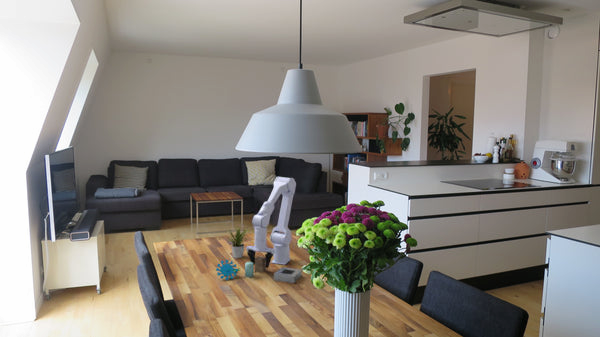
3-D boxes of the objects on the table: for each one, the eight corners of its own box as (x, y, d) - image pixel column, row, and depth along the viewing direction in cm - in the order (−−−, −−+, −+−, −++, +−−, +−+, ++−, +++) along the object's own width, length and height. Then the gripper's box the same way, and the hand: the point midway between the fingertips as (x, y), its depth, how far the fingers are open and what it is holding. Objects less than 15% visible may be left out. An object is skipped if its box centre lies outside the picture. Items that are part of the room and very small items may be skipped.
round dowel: (247, 273, 209) (247, 261, 208) (255, 274, 207) (255, 262, 206) (243, 276, 205) (243, 264, 204) (251, 277, 203) (251, 265, 203)
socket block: (282, 273, 210) (282, 267, 210) (301, 275, 207) (301, 269, 206) (273, 280, 201) (273, 273, 200) (294, 283, 197) (294, 276, 197)
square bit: (258, 269, 215) (258, 256, 215) (265, 270, 214) (265, 257, 213) (254, 271, 212) (254, 258, 211) (262, 272, 210) (262, 259, 210)
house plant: (257, 258, 231) (257, 228, 229) (234, 263, 223) (233, 231, 222) (245, 251, 243) (245, 222, 241) (222, 255, 235) (222, 225, 233)
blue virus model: (216, 278, 197) (216, 258, 204) (214, 283, 202) (214, 264, 208) (240, 279, 201) (240, 259, 207) (237, 285, 205) (237, 265, 211)
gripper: (243, 239, 210) (243, 266, 211) (270, 242, 205) (270, 270, 206) (249, 235, 216) (249, 262, 218) (276, 239, 211) (276, 266, 213)
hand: (260, 266), depth 212 cm, fingers open, 7 cm apart
